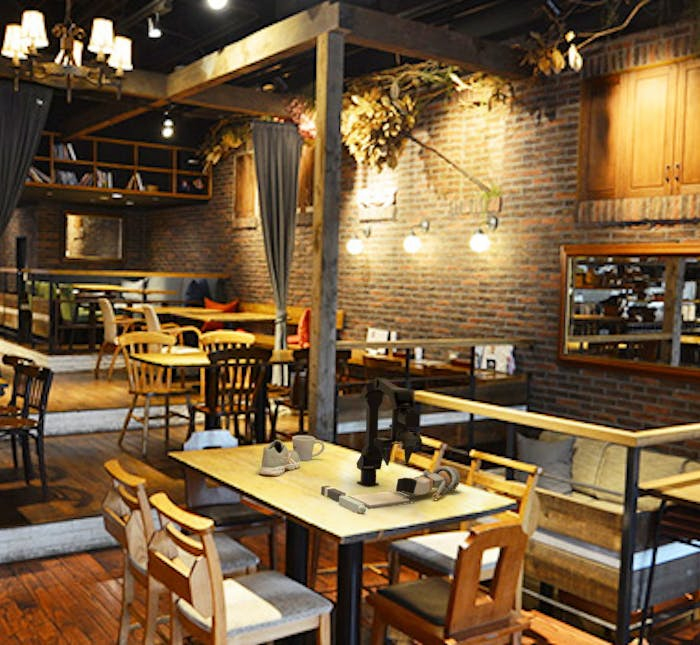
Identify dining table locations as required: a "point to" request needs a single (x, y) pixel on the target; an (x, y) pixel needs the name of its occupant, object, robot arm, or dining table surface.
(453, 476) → the toy
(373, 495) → the whiteboard
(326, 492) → the black marker
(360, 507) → the pale blue marker
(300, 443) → the mug
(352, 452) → the dining table surface
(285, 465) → the running shoe
